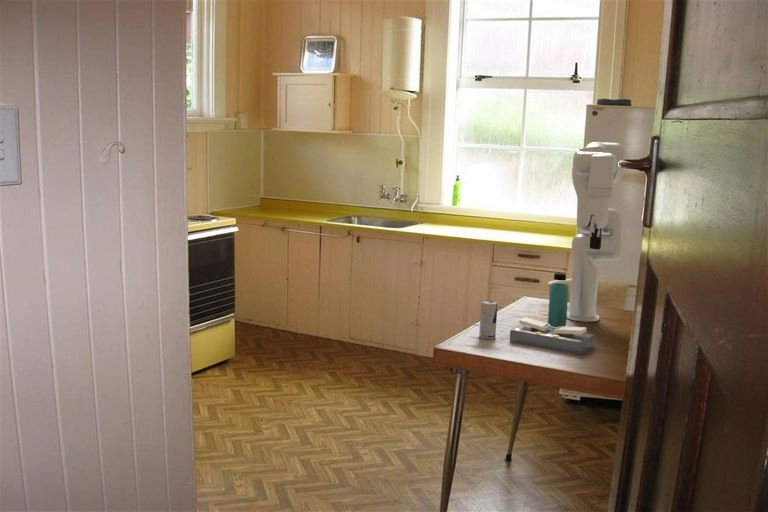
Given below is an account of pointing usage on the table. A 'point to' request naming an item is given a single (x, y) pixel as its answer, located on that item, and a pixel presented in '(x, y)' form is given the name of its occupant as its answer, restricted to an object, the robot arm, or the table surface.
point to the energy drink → (488, 319)
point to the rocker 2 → (570, 330)
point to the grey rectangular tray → (552, 339)
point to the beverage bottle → (558, 302)
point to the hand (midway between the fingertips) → (594, 248)
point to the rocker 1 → (534, 324)
